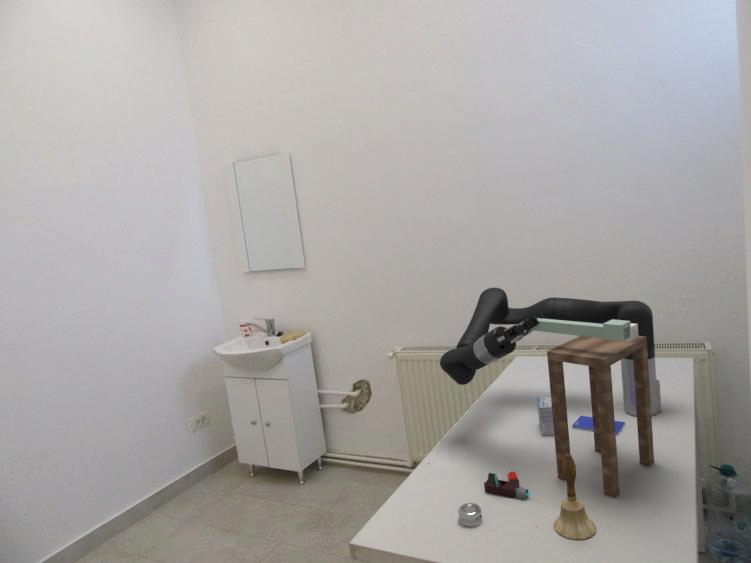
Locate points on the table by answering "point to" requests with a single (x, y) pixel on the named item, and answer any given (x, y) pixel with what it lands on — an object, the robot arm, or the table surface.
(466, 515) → the metal grooved wheel
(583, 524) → the hand bell
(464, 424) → the table surface
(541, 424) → the medicine box
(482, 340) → the robot arm
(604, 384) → the walnut stand
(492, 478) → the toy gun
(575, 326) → the sage stick
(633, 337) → the cream stick
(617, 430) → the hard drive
